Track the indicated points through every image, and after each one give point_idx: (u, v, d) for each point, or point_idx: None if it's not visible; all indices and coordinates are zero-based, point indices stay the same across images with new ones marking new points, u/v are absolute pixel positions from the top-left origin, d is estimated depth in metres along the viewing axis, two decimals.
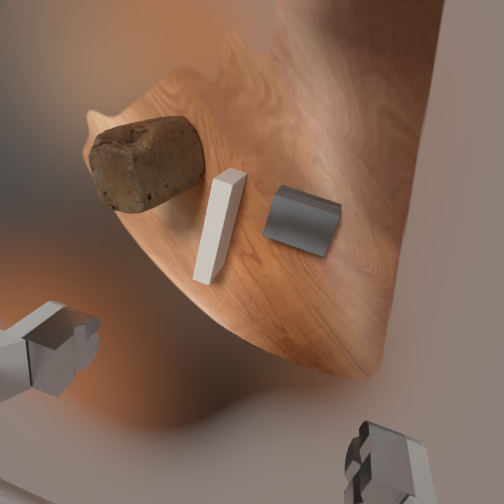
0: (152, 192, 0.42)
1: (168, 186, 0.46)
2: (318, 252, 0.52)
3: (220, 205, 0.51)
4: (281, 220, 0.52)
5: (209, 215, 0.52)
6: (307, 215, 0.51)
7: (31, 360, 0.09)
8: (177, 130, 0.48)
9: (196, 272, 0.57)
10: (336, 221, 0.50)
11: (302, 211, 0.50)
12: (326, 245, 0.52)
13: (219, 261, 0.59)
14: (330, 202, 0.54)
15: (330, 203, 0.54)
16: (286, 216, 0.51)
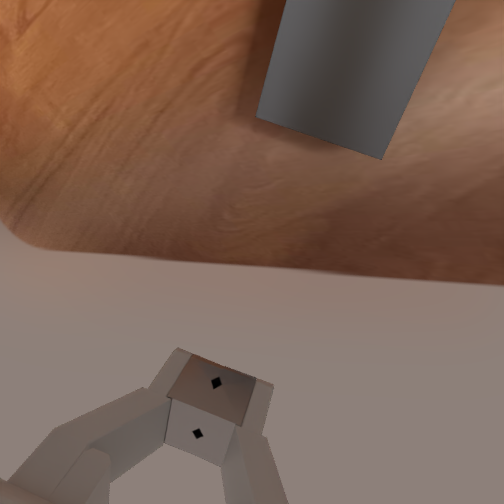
0: None
1: None
2: (268, 100, 0.18)
3: None
4: None
5: None
6: (392, 55, 0.16)
7: (172, 418, 0.08)
8: None
9: None
10: (366, 149, 0.18)
11: (409, 36, 0.15)
12: (291, 123, 0.18)
13: None
14: None
15: None
16: None
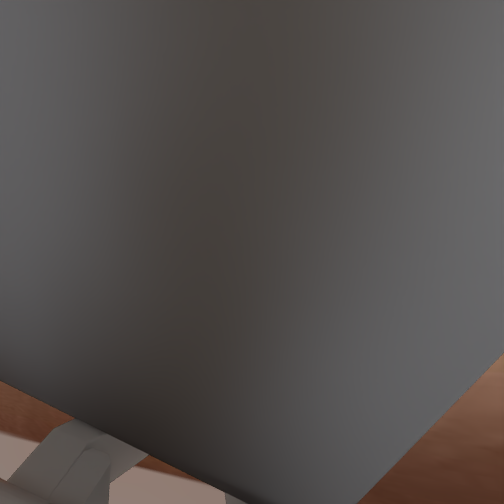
0: None
1: None
2: (16, 356, 0.06)
3: None
4: None
5: None
6: (352, 339, 0.04)
7: None
8: None
9: None
10: None
11: (416, 298, 0.04)
12: (85, 414, 0.07)
13: None
14: None
15: None
16: (378, 60, 0.03)
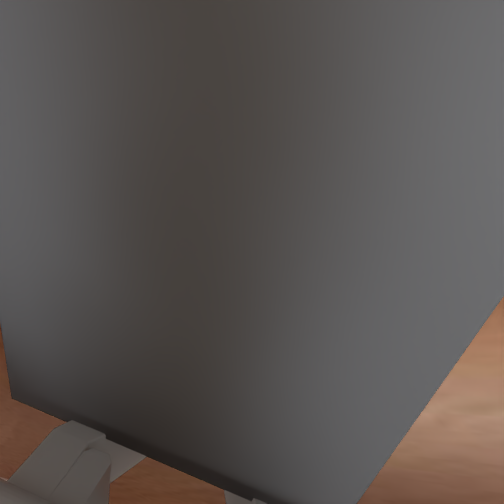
0: None
1: None
2: (26, 374, 0.07)
3: None
4: None
5: None
6: (334, 330, 0.04)
7: None
8: None
9: None
10: None
11: (387, 284, 0.04)
12: (94, 426, 0.07)
13: None
14: None
15: None
16: (317, 63, 0.03)
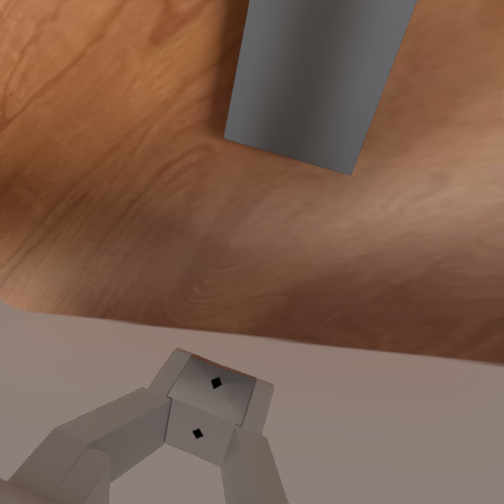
0: None
1: None
2: (235, 122, 0.18)
3: None
4: None
5: None
6: (353, 74, 0.16)
7: (172, 418, 0.08)
8: None
9: None
10: (334, 166, 0.18)
11: (368, 54, 0.15)
12: (259, 143, 0.18)
13: None
14: None
15: None
16: None
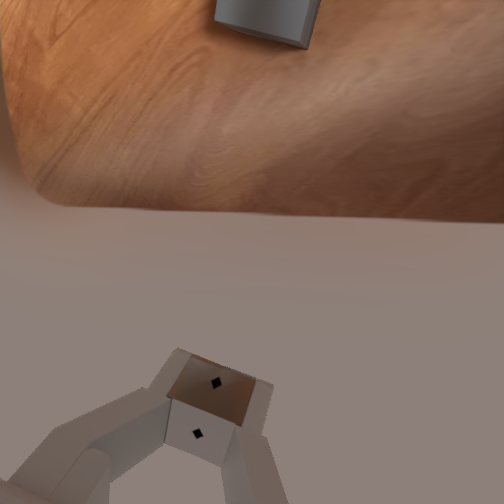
0: None
1: None
2: (221, 6, 0.26)
3: None
4: None
5: None
6: None
7: (172, 418, 0.08)
8: None
9: None
10: (288, 35, 0.26)
11: None
12: (238, 22, 0.27)
13: None
14: (312, 25, 0.30)
15: (312, 24, 0.29)
16: None
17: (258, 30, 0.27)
